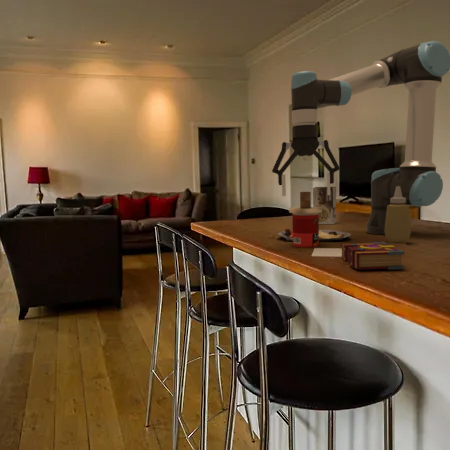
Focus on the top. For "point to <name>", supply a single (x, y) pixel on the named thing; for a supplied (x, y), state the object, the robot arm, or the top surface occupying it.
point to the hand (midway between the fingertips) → (306, 195)
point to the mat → (327, 252)
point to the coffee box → (325, 204)
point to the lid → (305, 205)
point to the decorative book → (372, 256)
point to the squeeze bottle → (397, 219)
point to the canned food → (305, 230)
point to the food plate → (323, 235)
